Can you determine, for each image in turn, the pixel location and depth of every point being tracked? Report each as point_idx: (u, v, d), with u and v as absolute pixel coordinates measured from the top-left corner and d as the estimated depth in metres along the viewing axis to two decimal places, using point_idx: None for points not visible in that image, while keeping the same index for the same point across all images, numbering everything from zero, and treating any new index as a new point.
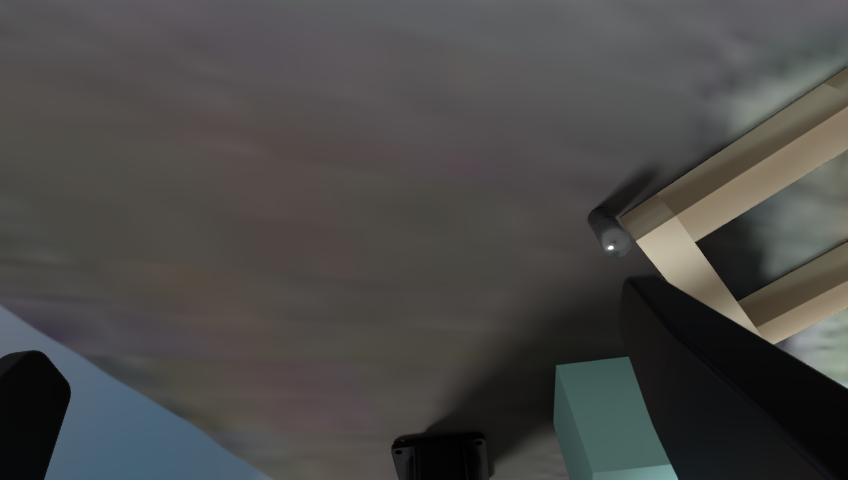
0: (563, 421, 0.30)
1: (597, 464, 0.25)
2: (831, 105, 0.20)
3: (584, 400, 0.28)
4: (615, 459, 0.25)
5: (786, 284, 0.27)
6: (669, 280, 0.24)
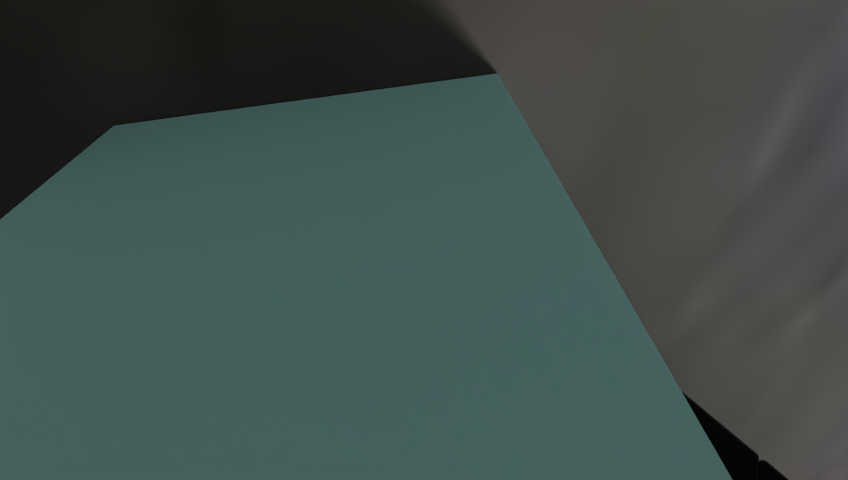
0: None
1: None
2: None
3: None
4: None
5: None
6: None
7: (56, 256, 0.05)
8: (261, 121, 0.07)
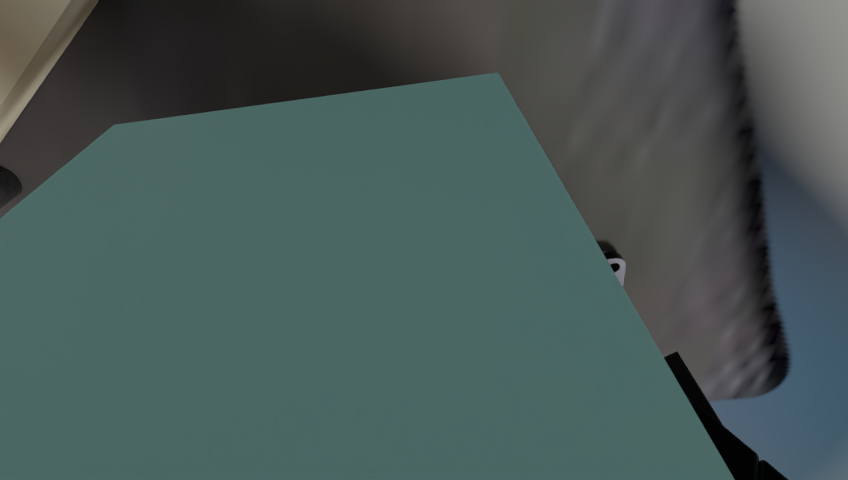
0: None
1: None
2: None
3: None
4: None
5: None
6: None
7: (56, 255, 0.05)
8: (261, 120, 0.07)
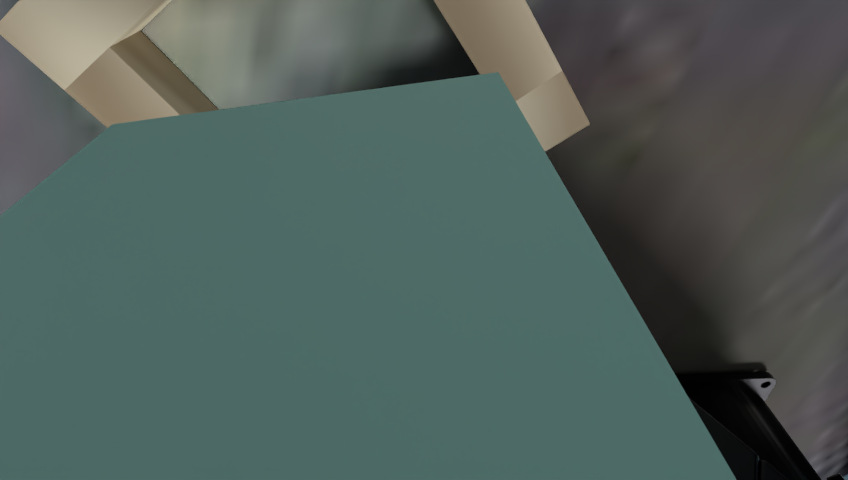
0: None
1: None
2: None
3: None
4: None
5: None
6: None
7: (53, 255, 0.05)
8: (260, 120, 0.07)
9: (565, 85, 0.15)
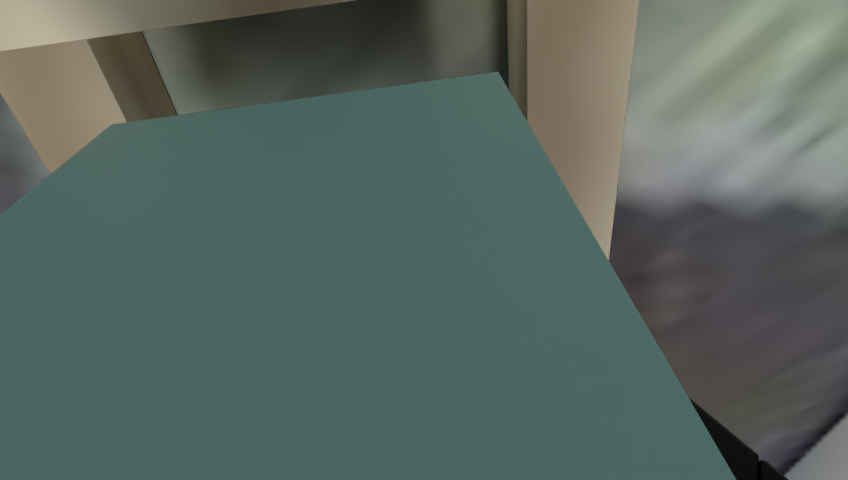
0: None
1: None
2: None
3: None
4: None
5: None
6: None
7: (51, 256, 0.05)
8: (259, 120, 0.07)
9: None
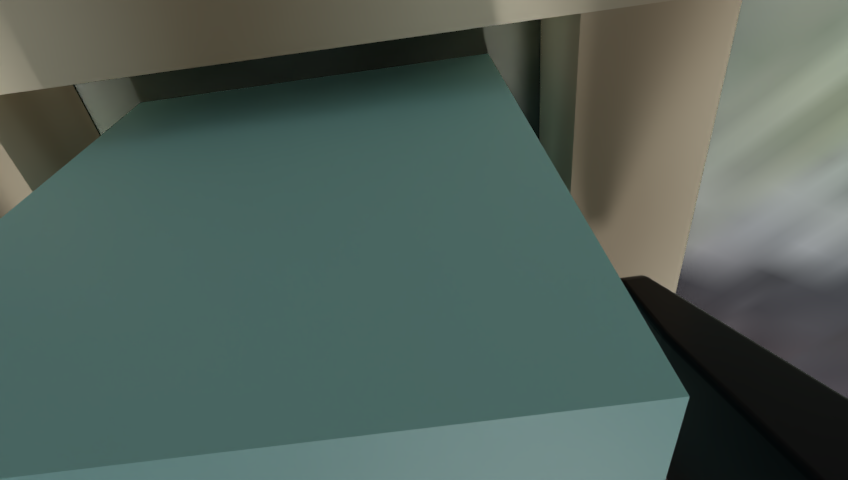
0: None
1: None
2: None
3: None
4: None
5: None
6: None
7: (108, 199, 0.06)
8: (275, 95, 0.08)
9: None
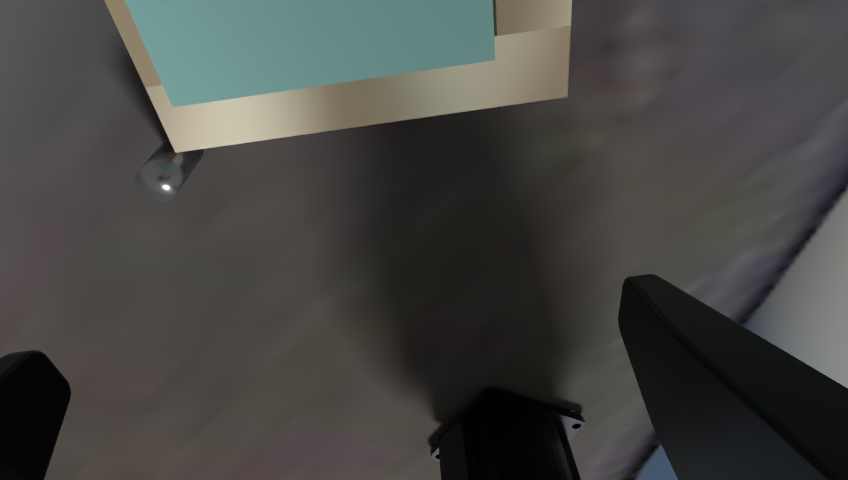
0: None
1: None
2: None
3: None
4: None
5: None
6: (283, 134, 0.15)
7: None
8: None
9: (566, 43, 0.14)
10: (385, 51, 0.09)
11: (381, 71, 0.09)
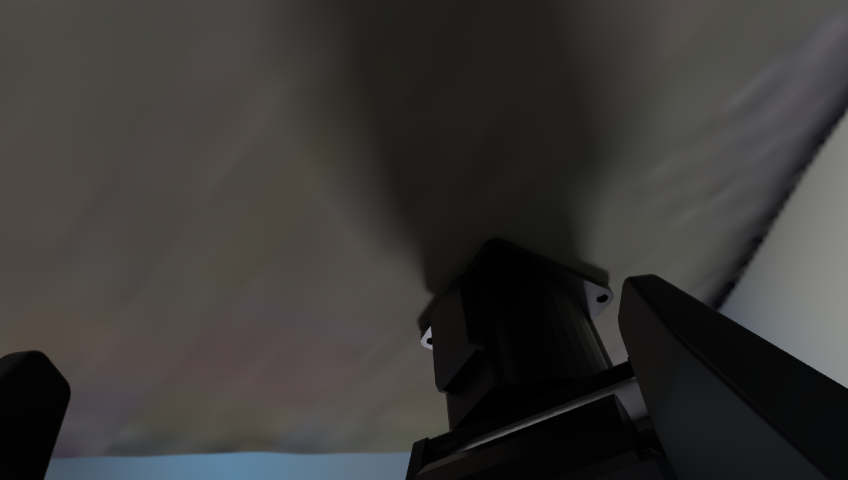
0: None
1: None
2: None
3: None
4: None
5: None
6: None
7: None
8: None
9: None
10: None
11: None
